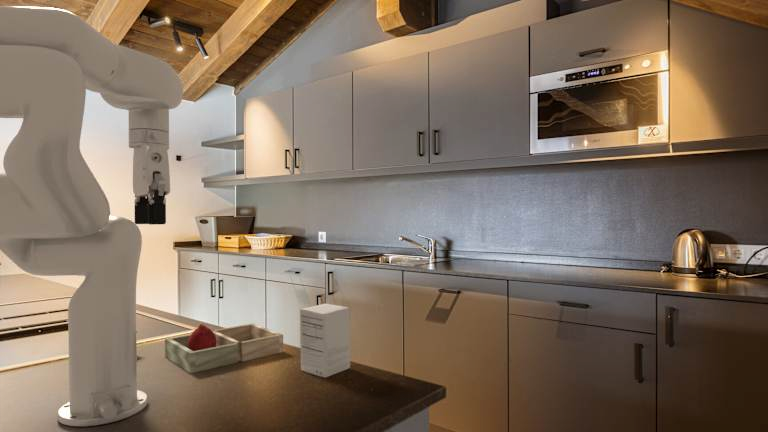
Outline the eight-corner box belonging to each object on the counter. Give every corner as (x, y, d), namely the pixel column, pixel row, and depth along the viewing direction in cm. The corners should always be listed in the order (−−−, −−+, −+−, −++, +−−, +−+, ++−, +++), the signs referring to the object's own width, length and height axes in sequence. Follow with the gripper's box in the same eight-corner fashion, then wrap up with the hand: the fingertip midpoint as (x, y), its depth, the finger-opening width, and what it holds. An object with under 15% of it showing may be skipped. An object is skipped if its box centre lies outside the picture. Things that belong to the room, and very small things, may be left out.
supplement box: (325, 361, 103) (325, 302, 103) (351, 368, 99) (350, 307, 98) (299, 370, 98) (298, 308, 97) (324, 378, 93) (324, 313, 93)
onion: (221, 355, 108) (220, 319, 108) (209, 363, 102) (208, 325, 102) (196, 355, 108) (195, 319, 108) (183, 363, 103) (182, 325, 103)
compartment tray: (283, 352, 110) (283, 334, 110) (190, 373, 96) (190, 353, 96) (252, 339, 121) (252, 323, 121) (165, 356, 107) (164, 338, 107)
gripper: (182, 137, 95) (182, 224, 95) (156, 147, 108) (156, 223, 108) (141, 133, 90) (141, 224, 90) (118, 144, 104) (119, 224, 104)
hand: (149, 224), depth 99 cm, fingers open, 9 cm apart
